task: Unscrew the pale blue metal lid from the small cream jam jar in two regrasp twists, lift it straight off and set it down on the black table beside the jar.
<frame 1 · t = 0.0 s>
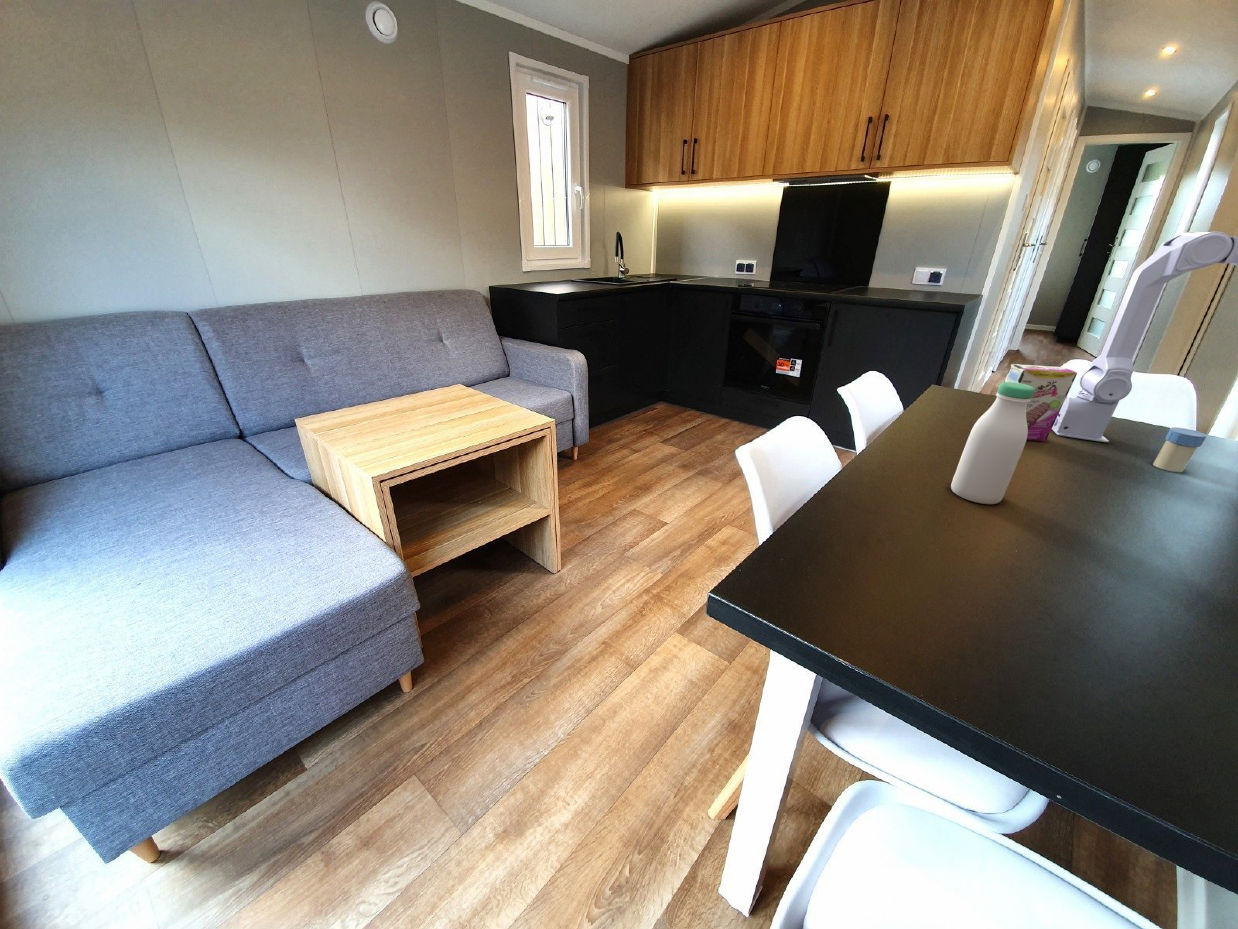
milk bottle: (974, 495, 87), on the table
candy bar box: (1014, 437, 114), on the table
jam lid: (1187, 433, 97), point 8 cm above the table, screwed on, not yet turned
jam jar: (1167, 467, 100), on the table
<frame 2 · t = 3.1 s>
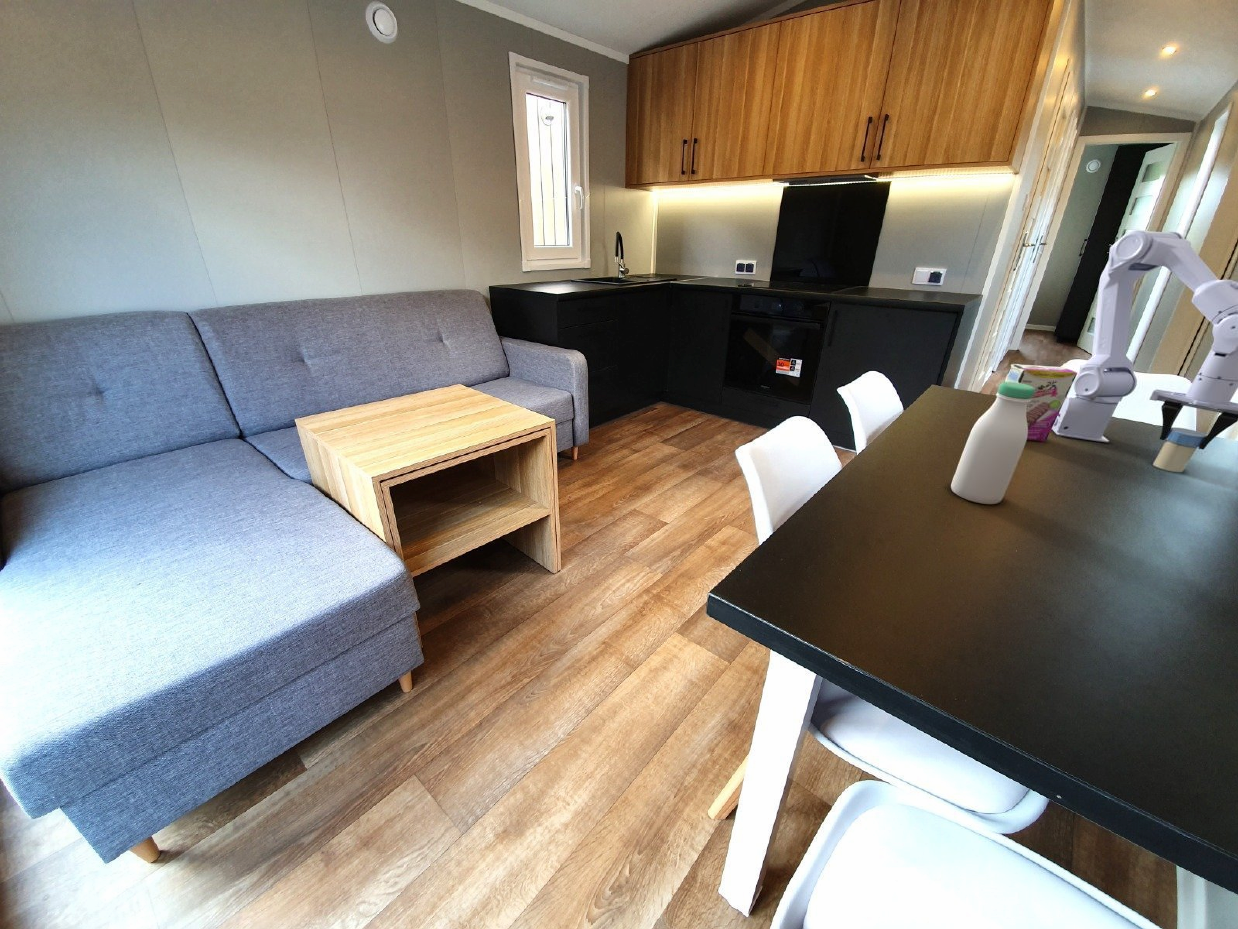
hand: (1181, 443, 98), 5 cm above the table, tool pointing down, fingers closed on jam lid, 5 cm apart
jam lid: (1187, 433, 97), point 8 cm above the table, screwed on, not yet turned, touching gripper
everything else where it was.
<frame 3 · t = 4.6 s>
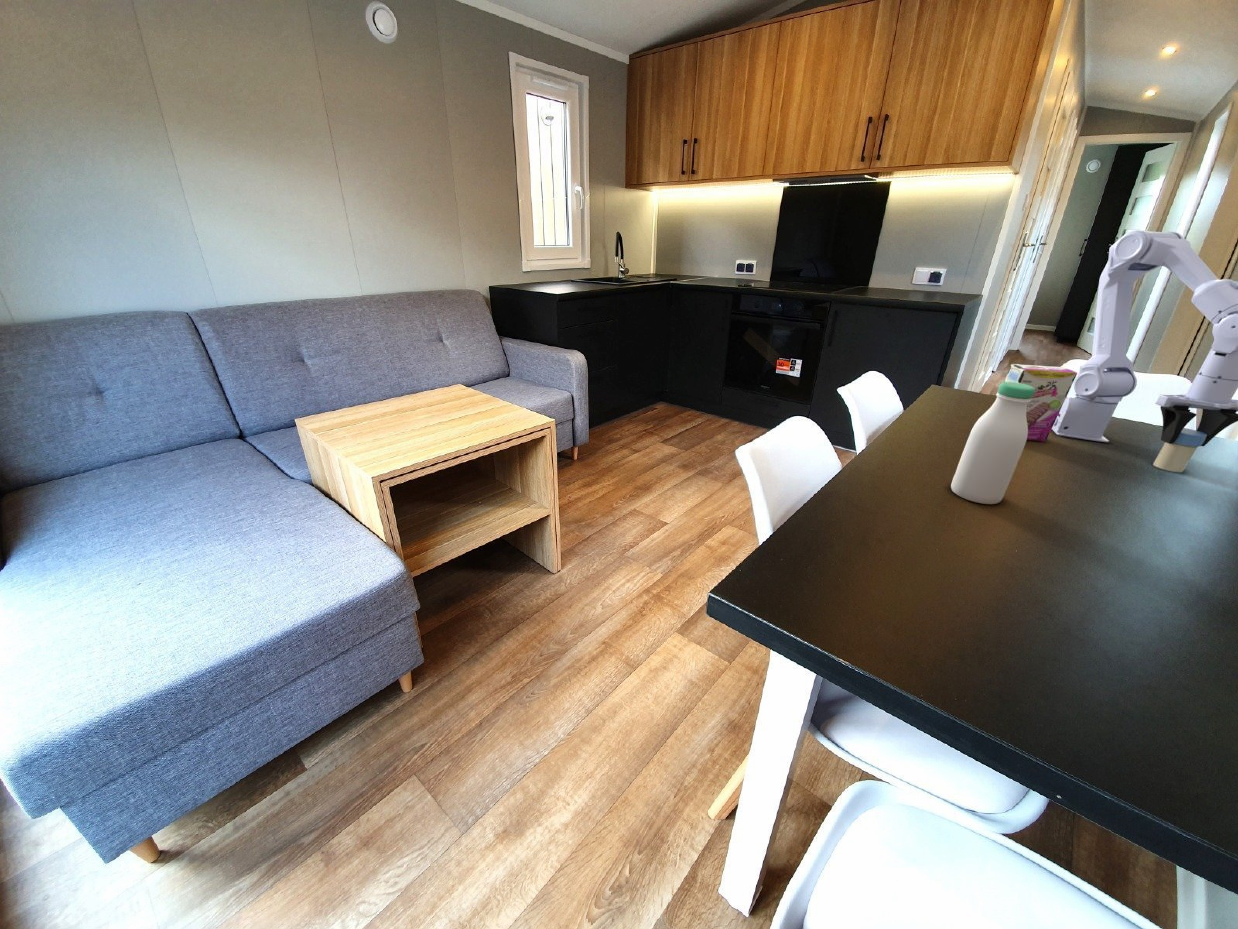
hand: (1181, 443, 98), 5 cm above the table, tool pointing down, fingers closed on jam lid, 5 cm apart
jam lid: (1187, 432, 97), point 8 cm above the table, turned 45° so far, risen 0.1 cm, still on its thread, touching gripper
everything else where it was.
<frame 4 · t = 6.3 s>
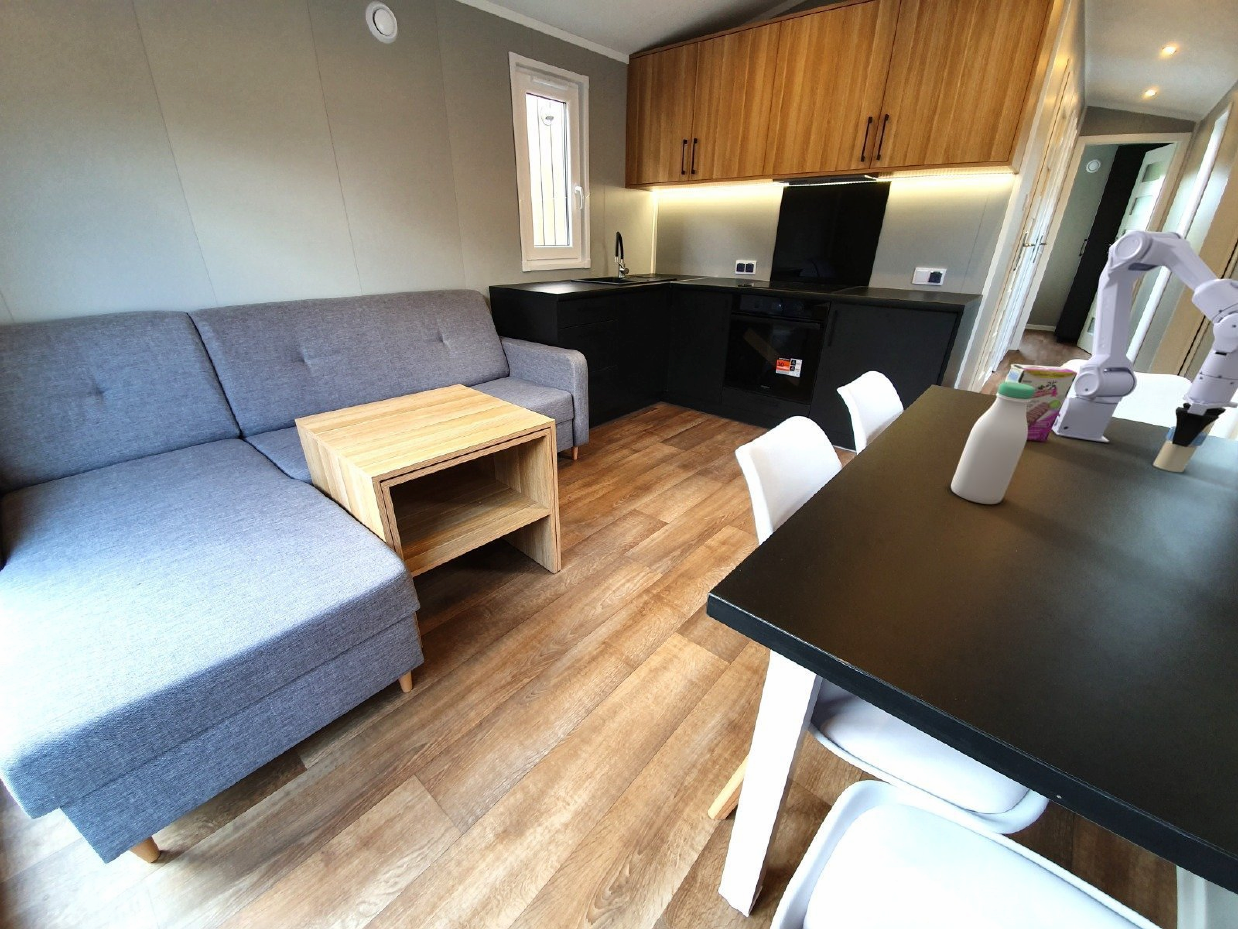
hand: (1182, 442, 98), 6 cm above the table, tool pointing down, fingers closed on jam lid, 5 cm apart
jam lid: (1188, 432, 97), point 8 cm above the table, turned 90° so far, risen 0.2 cm, still on its thread, touching gripper
everything else where it was.
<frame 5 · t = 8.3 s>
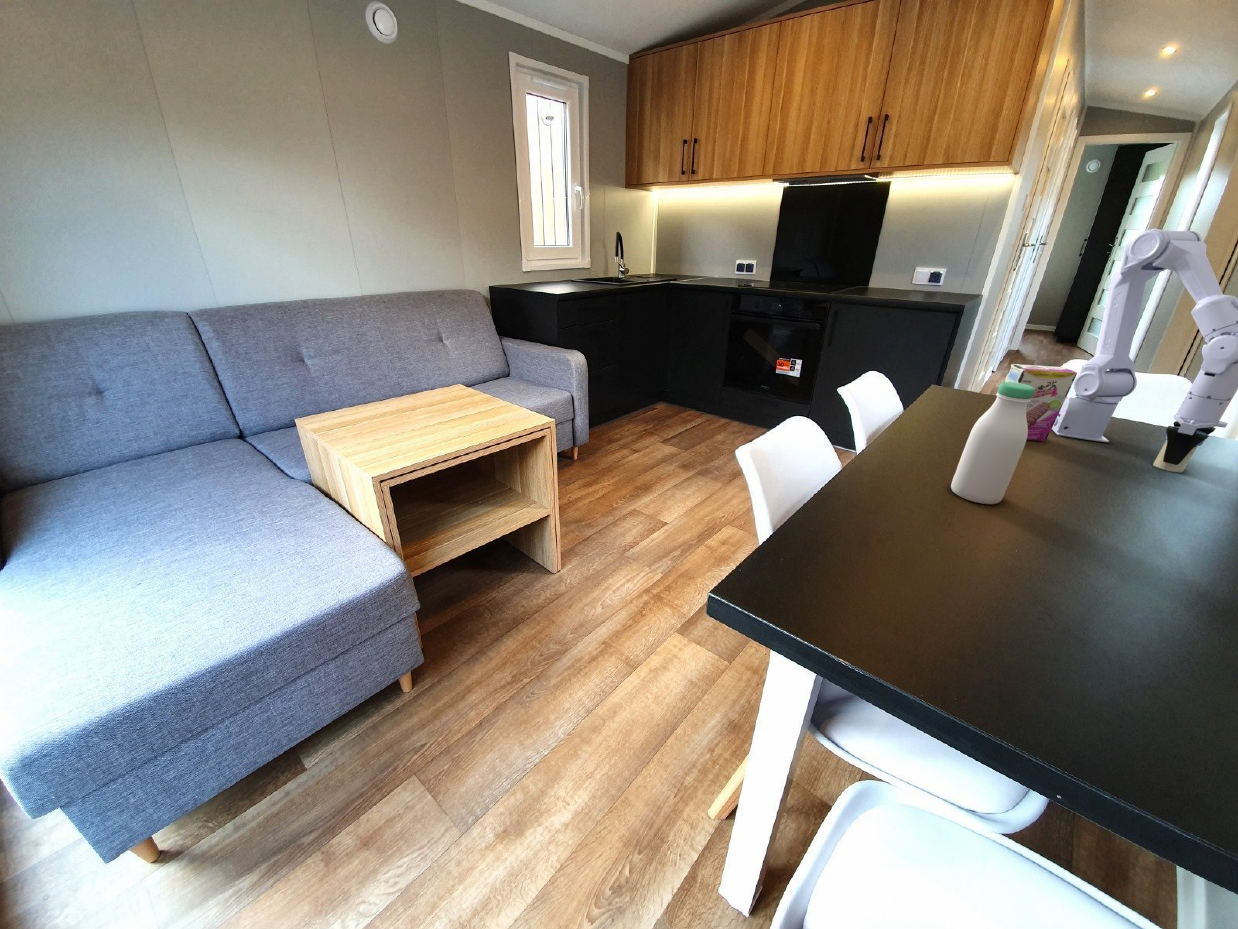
hand: (1173, 460, 99), 2 cm above the table, tool pointing down, fingers closed on jam lid, 5 cm apart
jam lid: (1187, 432, 97), point 8 cm above the table, turned 82° so far, risen 0.2 cm, still on its thread, touching gripper
everything else where it was.
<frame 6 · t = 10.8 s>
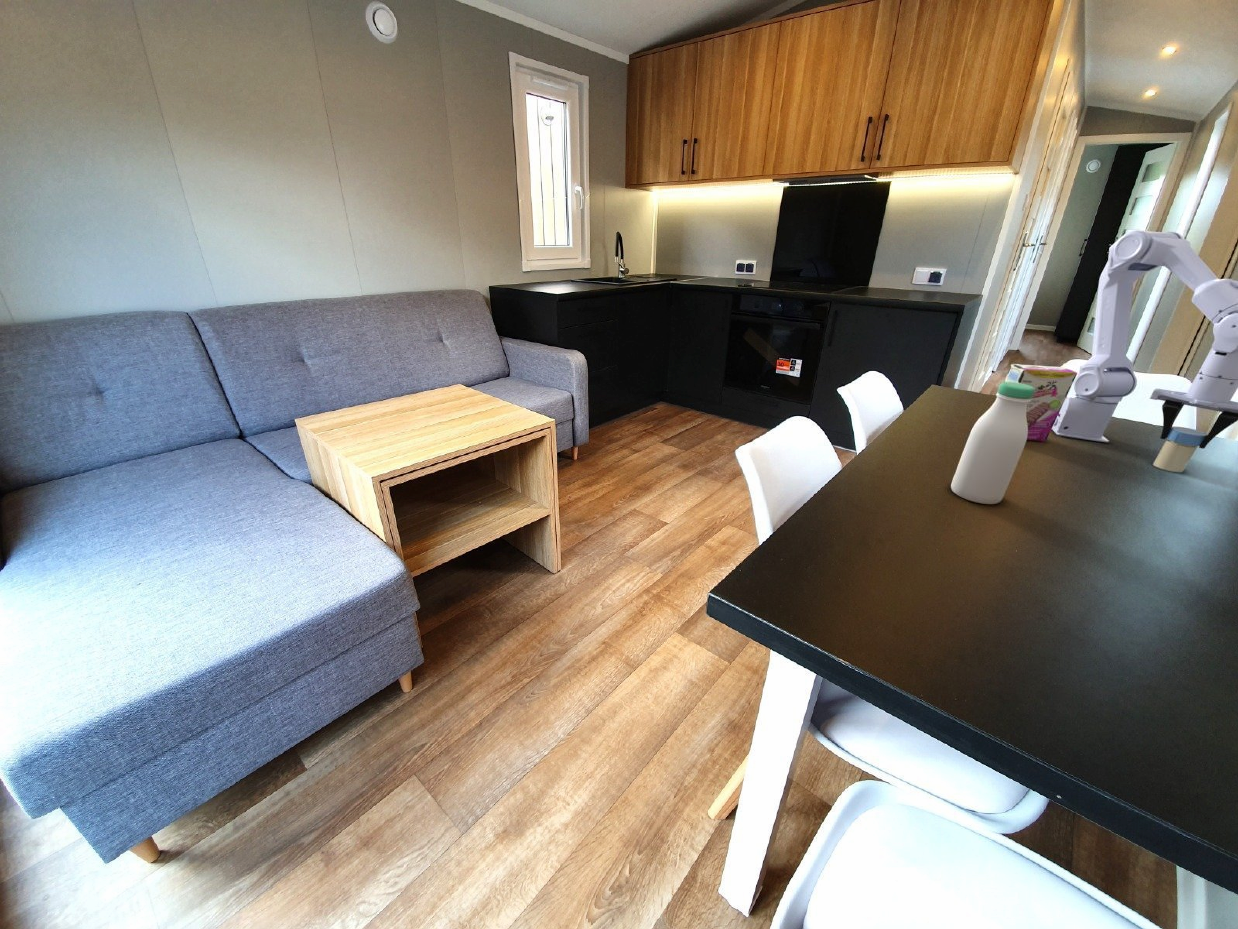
hand: (1181, 442, 98), 6 cm above the table, tool pointing down, fingers closed on jam lid, 5 cm apart
jam lid: (1188, 432, 97), point 8 cm above the table, turned 82° so far, risen 0.2 cm, still on its thread, touching gripper
everything else where it was.
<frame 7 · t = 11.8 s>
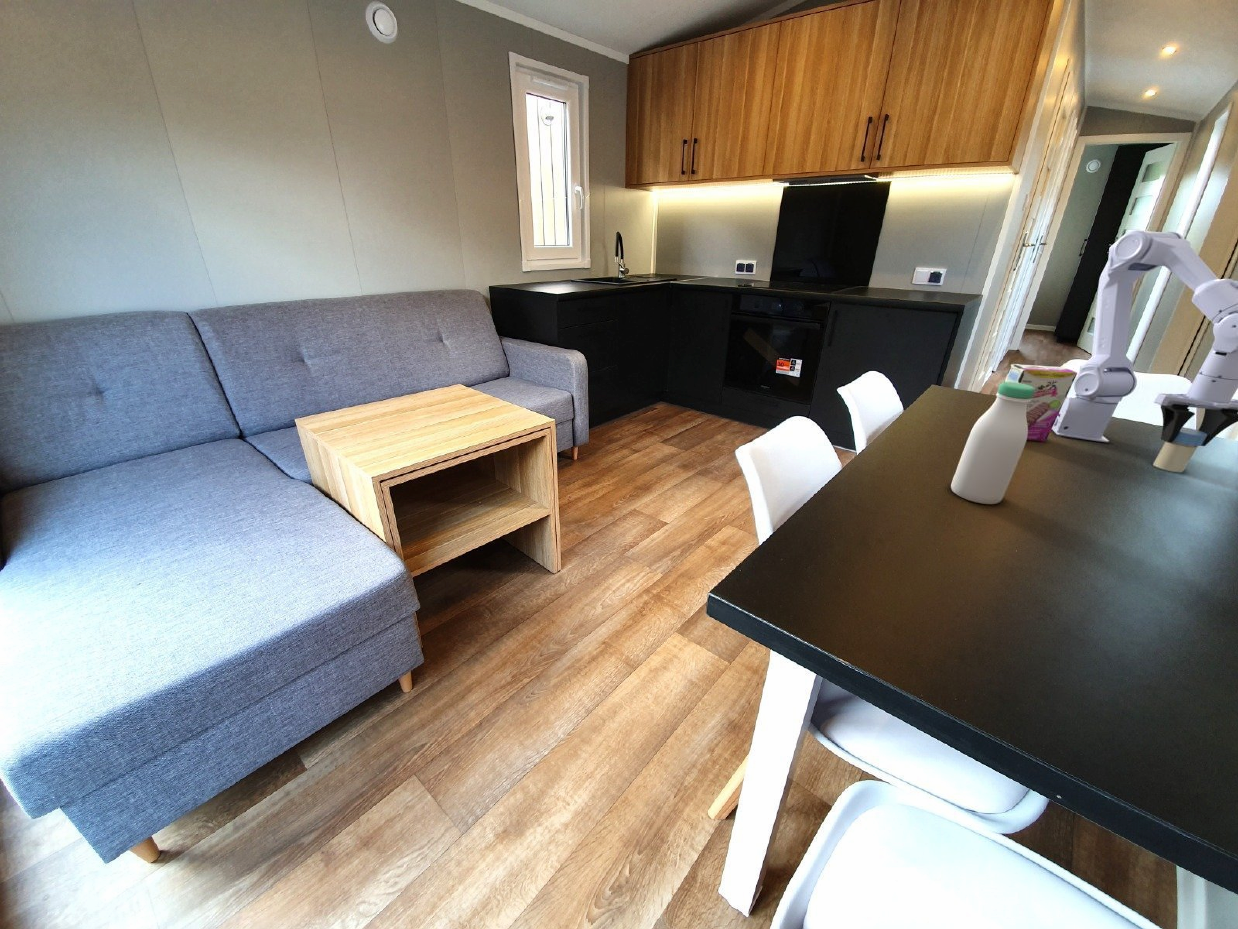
hand: (1182, 442, 98), 6 cm above the table, tool pointing down, fingers closed on jam lid, 5 cm apart
jam lid: (1188, 432, 97), point 8 cm above the table, off its thread, touching gripper
everything else where it was.
when the fingers open (0 cm above the table, at t = 19.6 s): jam lid stays where it is, point 2 cm above the table.
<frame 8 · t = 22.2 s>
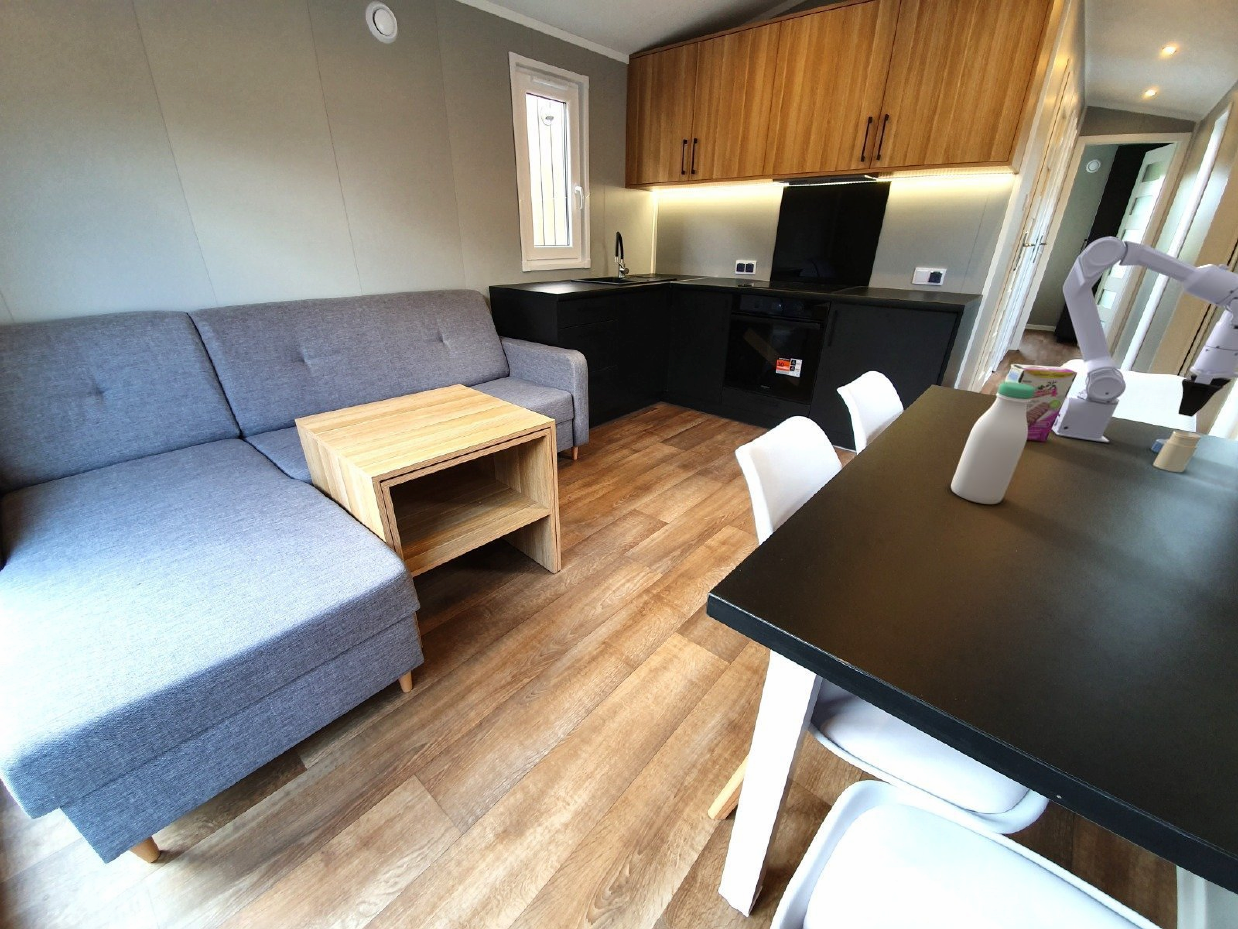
hand: (1189, 412, 104), 9 cm above the table, tool pointing down, fingers open, 7 cm apart
jam lid: (1171, 444, 107), point 2 cm above the table, off its thread
everything else where it was.
at the end: jam lid came off its thread; jam lid point 1.9 cm above the table; the gripper is holding nothing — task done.
